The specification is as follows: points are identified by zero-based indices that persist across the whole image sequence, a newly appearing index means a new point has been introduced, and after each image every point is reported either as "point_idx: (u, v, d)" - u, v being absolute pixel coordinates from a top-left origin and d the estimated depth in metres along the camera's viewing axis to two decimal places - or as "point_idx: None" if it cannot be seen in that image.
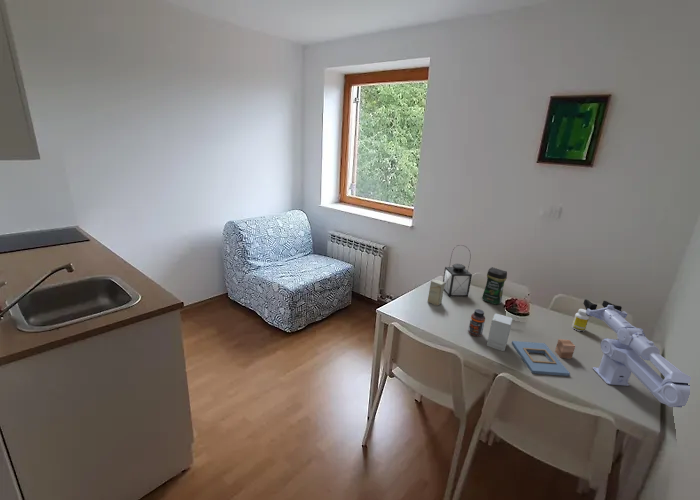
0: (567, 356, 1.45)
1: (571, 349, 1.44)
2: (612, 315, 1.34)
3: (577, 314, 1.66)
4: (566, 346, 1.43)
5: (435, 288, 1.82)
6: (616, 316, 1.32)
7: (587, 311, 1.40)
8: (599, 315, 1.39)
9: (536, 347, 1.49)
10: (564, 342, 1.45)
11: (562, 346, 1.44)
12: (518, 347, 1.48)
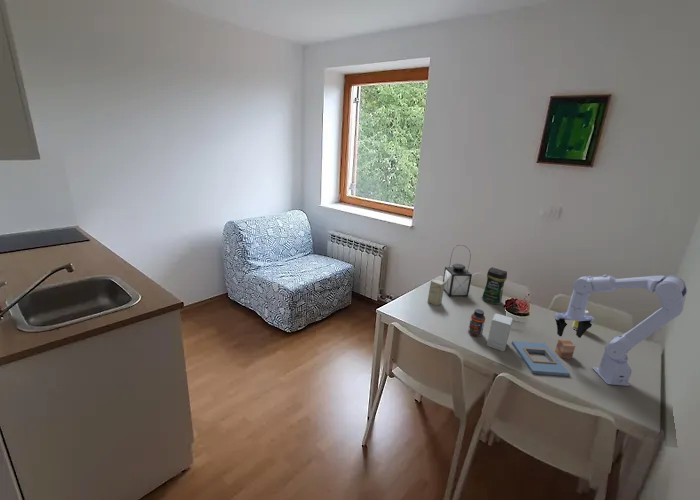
0: (567, 356, 1.45)
1: (571, 349, 1.44)
2: None
3: None
4: (566, 346, 1.43)
5: (435, 288, 1.82)
6: None
7: (555, 316, 1.42)
8: (568, 316, 1.41)
9: (536, 347, 1.49)
10: (564, 342, 1.45)
11: (562, 346, 1.44)
12: (518, 347, 1.48)
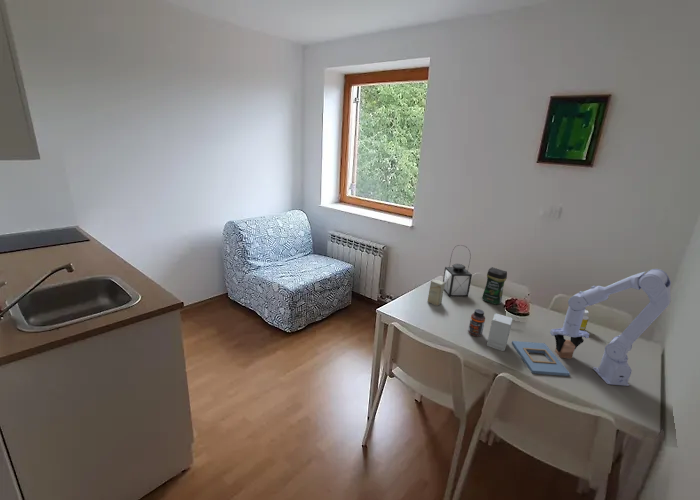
0: (567, 356, 1.45)
1: (571, 349, 1.44)
2: None
3: None
4: (566, 346, 1.43)
5: (435, 288, 1.82)
6: (565, 318, 1.43)
7: (551, 332, 1.44)
8: (563, 332, 1.43)
9: (536, 347, 1.49)
10: (564, 342, 1.45)
11: (562, 346, 1.44)
12: (518, 347, 1.48)
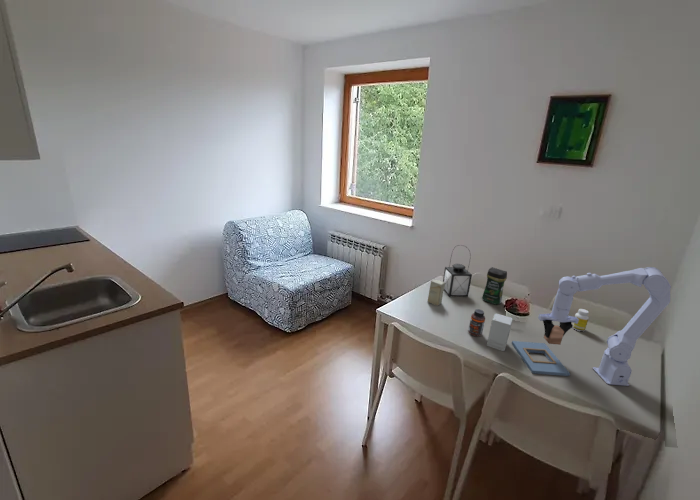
0: (556, 342, 1.40)
1: (560, 335, 1.39)
2: None
3: (577, 314, 1.66)
4: (555, 331, 1.39)
5: (435, 288, 1.82)
6: (554, 303, 1.38)
7: (539, 317, 1.40)
8: (552, 317, 1.39)
9: (536, 347, 1.49)
10: (552, 328, 1.41)
11: None
12: (518, 347, 1.48)
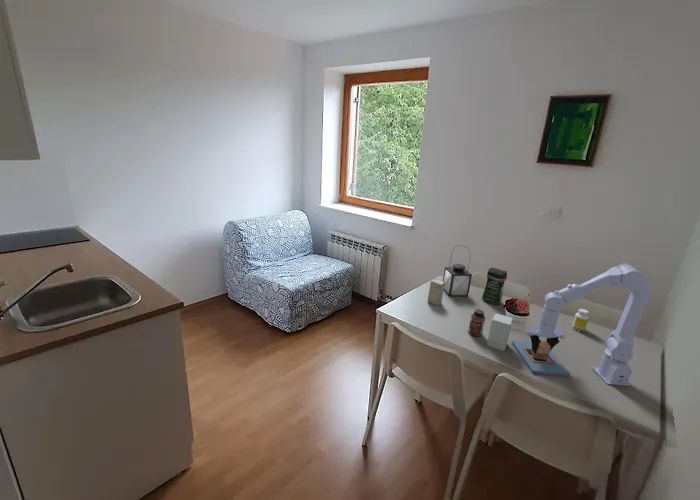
0: (543, 357, 1.41)
1: (546, 350, 1.40)
2: None
3: (577, 314, 1.66)
4: (542, 347, 1.40)
5: (435, 288, 1.82)
6: (541, 319, 1.38)
7: (526, 333, 1.40)
8: (538, 332, 1.39)
9: None
10: (539, 343, 1.41)
11: None
12: (518, 347, 1.48)
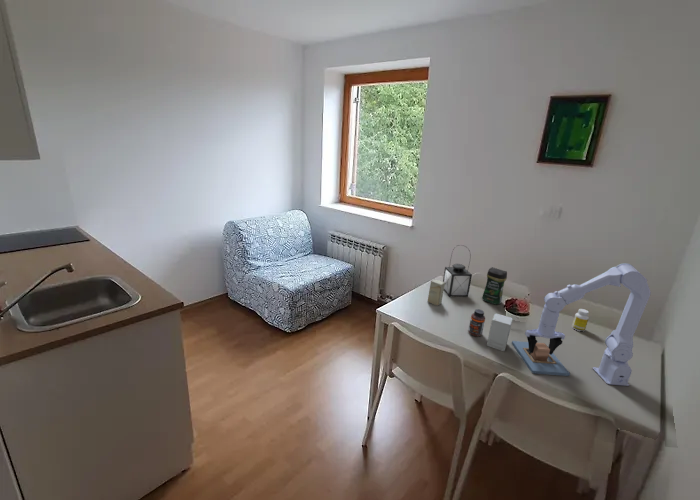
0: (542, 359, 1.41)
1: (546, 353, 1.40)
2: None
3: (577, 314, 1.66)
4: (541, 349, 1.40)
5: (435, 288, 1.82)
6: (541, 320, 1.38)
7: (526, 333, 1.41)
8: (538, 333, 1.39)
9: None
10: (539, 346, 1.42)
11: (537, 349, 1.41)
12: (518, 347, 1.48)
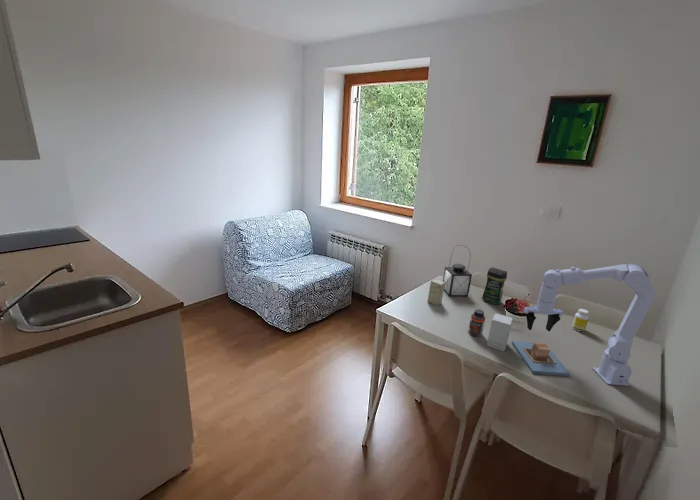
0: (542, 359, 1.41)
1: (546, 353, 1.40)
2: None
3: (577, 314, 1.66)
4: (541, 349, 1.40)
5: (435, 288, 1.82)
6: (539, 296, 1.41)
7: (524, 310, 1.43)
8: (537, 310, 1.42)
9: None
10: (539, 346, 1.42)
11: (537, 349, 1.41)
12: (518, 347, 1.48)
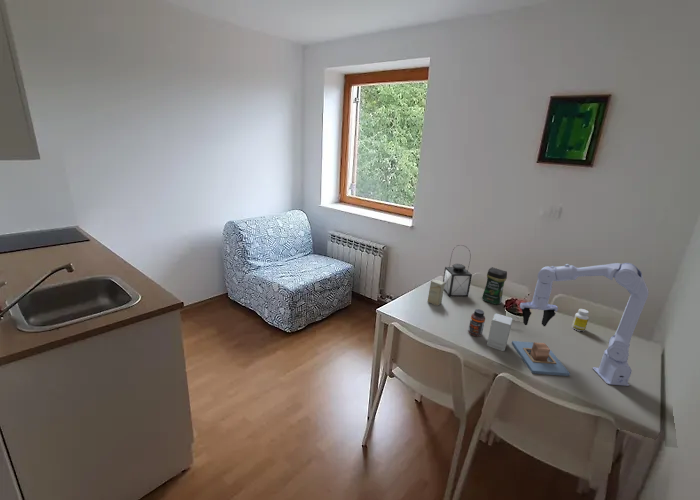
0: (542, 359, 1.41)
1: (546, 353, 1.40)
2: None
3: (577, 314, 1.66)
4: (541, 349, 1.40)
5: (435, 288, 1.82)
6: (534, 292, 1.45)
7: (520, 306, 1.47)
8: (532, 305, 1.45)
9: None
10: (539, 346, 1.42)
11: (537, 349, 1.41)
12: (518, 347, 1.48)
